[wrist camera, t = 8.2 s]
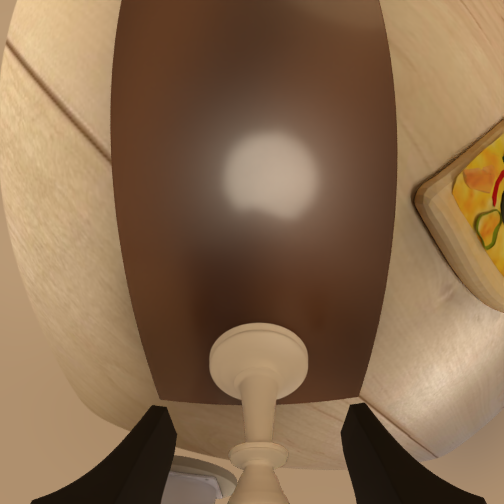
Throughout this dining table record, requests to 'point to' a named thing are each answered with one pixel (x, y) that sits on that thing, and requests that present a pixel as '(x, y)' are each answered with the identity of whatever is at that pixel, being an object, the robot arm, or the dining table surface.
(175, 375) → the stand
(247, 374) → the chess piece
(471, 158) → the pizza slice
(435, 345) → the dining table surface
